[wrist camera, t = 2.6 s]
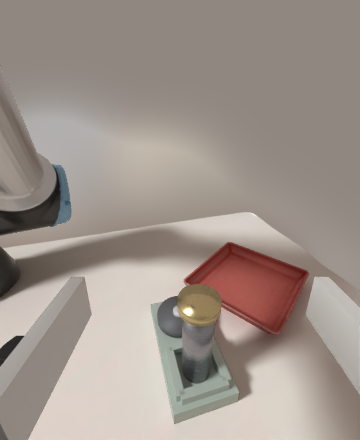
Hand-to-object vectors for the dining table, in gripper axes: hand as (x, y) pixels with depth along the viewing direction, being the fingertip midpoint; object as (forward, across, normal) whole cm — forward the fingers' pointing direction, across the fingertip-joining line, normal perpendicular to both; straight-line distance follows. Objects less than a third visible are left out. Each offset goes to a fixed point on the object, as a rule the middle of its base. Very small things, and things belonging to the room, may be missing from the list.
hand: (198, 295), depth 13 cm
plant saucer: (+27, +11, -20) cm, 35 cm away
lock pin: (+10, +1, -20) cm, 22 cm away
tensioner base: (+14, 0, -21) cm, 25 cm away
